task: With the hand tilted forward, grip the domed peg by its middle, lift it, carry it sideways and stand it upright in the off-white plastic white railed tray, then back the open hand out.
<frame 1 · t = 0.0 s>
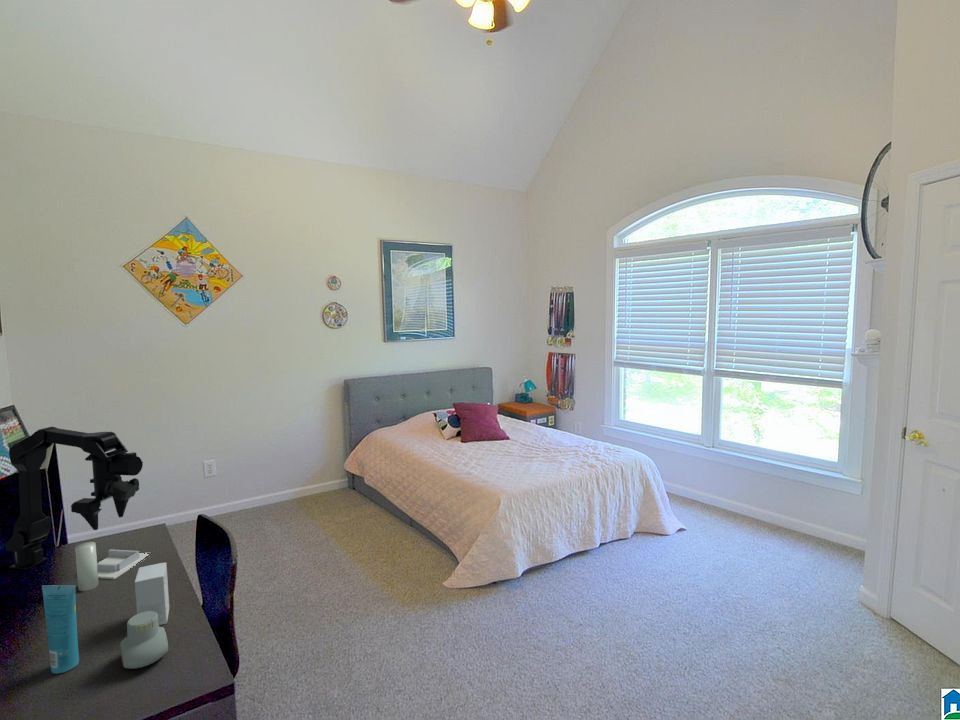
hand: (108, 523, 151), 15 cm above the table, tool pointing down, fingers open, 9 cm apart
air freshener: (145, 659, 113), on the table
white railed tray: (116, 565, 155), on the table
small box: (154, 619, 128), on the table
domed peg: (88, 586, 143), on the table
tube: (65, 667, 111), on the table
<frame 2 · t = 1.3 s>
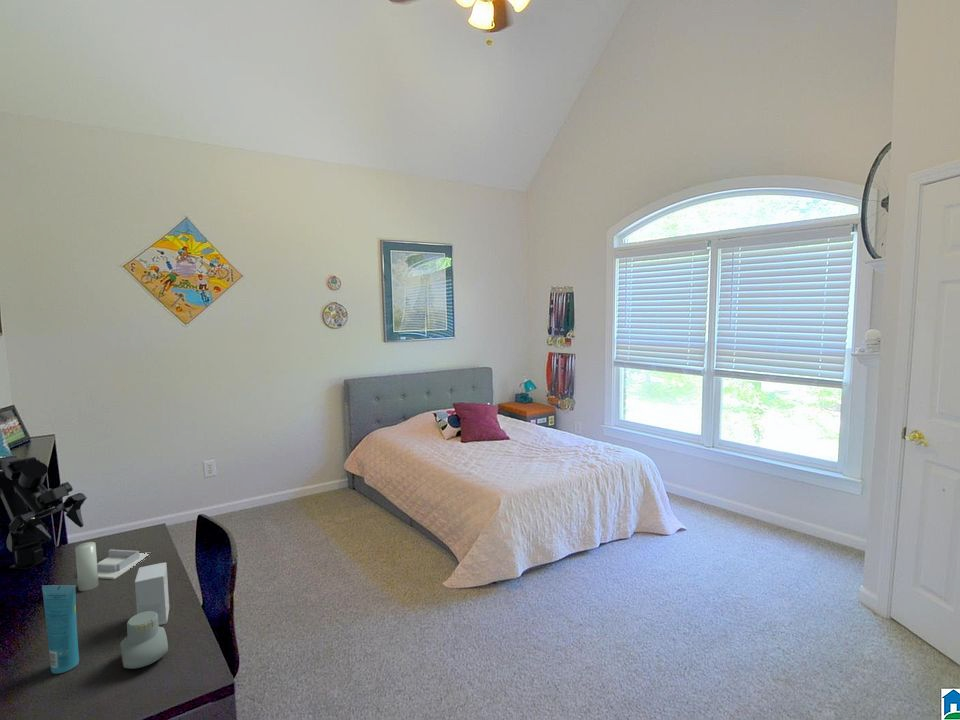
hand: (66, 533, 147), 14 cm above the table, tool tilted 45°, fingers open, 9 cm apart
nothing on the table moved.
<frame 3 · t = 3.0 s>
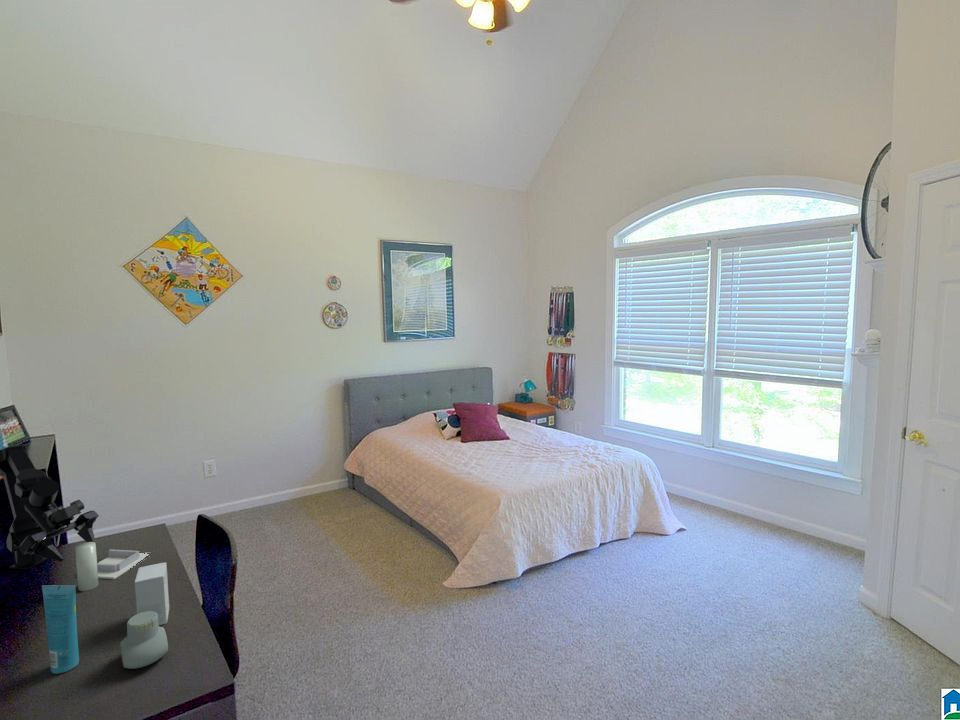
hand: (79, 552, 142), 10 cm above the table, tool tilted 45°, fingers open, 9 cm apart
nothing on the table moved.
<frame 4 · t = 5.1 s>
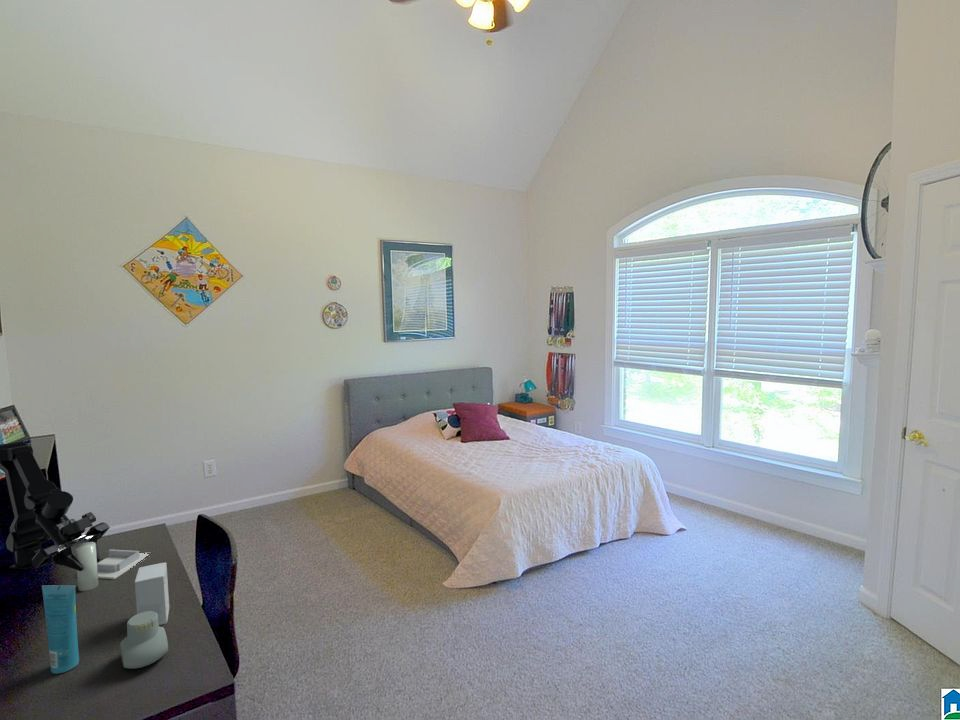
hand: (90, 565, 142), 7 cm above the table, tool tilted 45°, fingers closed on domed peg, 5 cm apart
domed peg: (88, 586, 143), on the table, touching gripper
everything else where it was.
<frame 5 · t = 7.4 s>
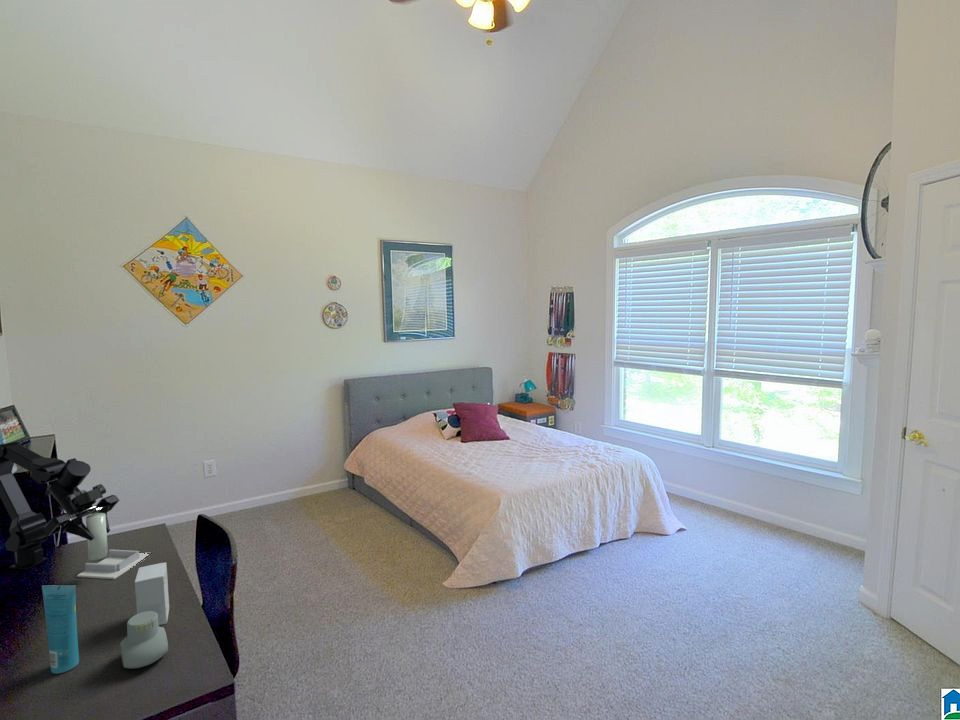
hand: (100, 535, 146), 13 cm above the table, tool tilted 45°, fingers closed on domed peg, 5 cm apart
domed peg: (98, 556, 147), point 7 cm above the table, touching gripper
everything else where it was.
when the fingers open (8 cm above the table, at t = 10.2 s): domed peg stays where it is, resting on white railed tray.
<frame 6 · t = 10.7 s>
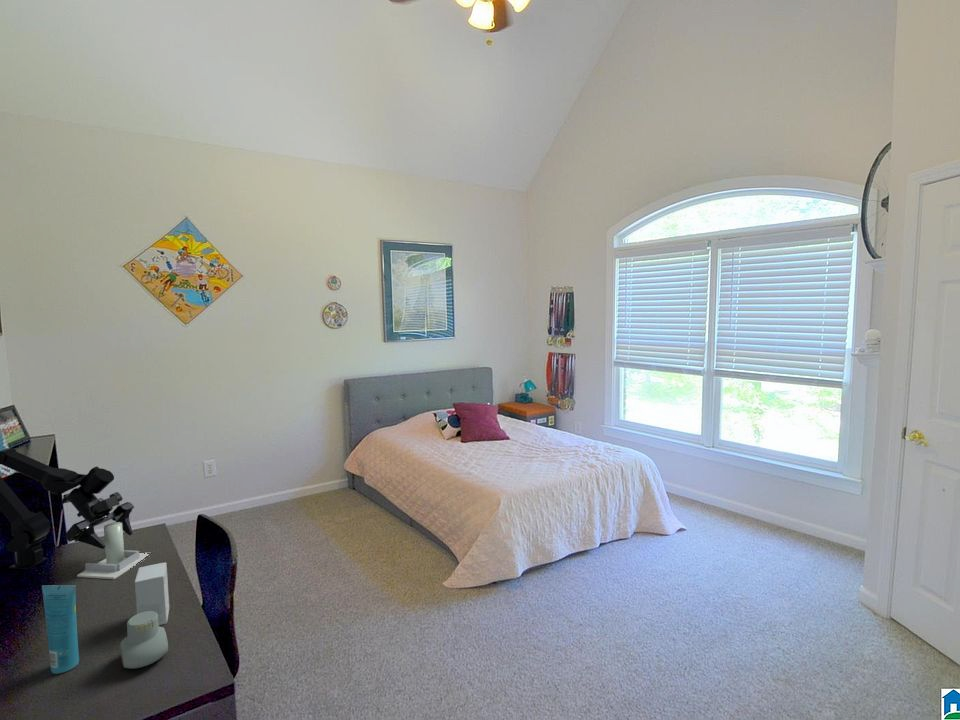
hand: (118, 540, 154), 8 cm above the table, tool tilted 45°, fingers open, 9 cm apart
domed peg: (115, 563, 155), point 1 cm above the table, touching white railed tray
everything else where it was.
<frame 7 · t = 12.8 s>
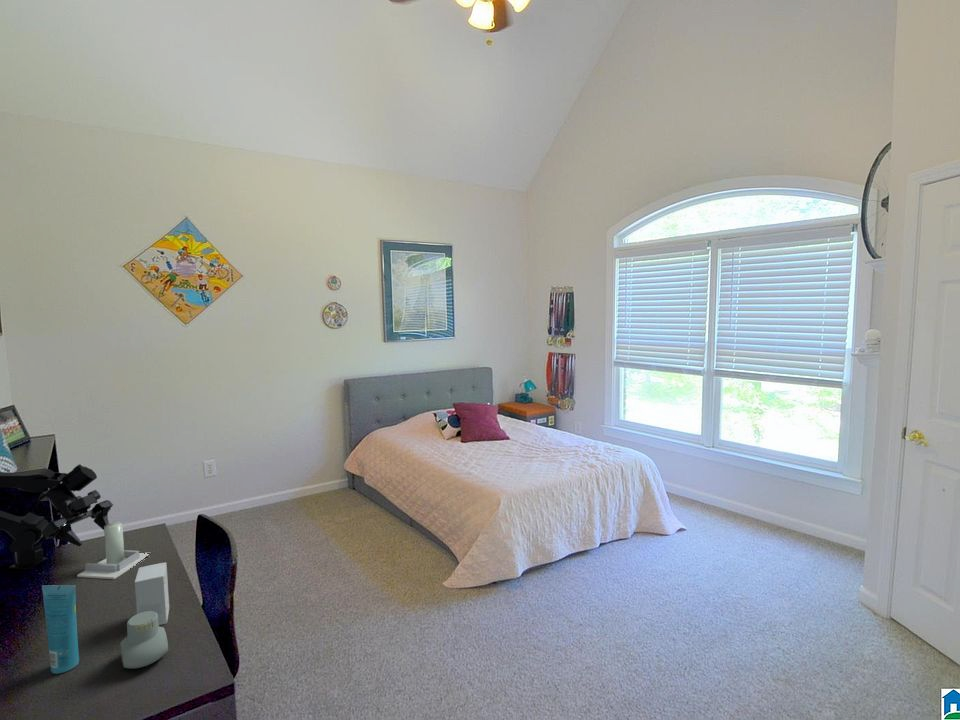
hand: (95, 538, 155), 8 cm above the table, tool tilted 45°, fingers open, 9 cm apart
nothing on the table moved.
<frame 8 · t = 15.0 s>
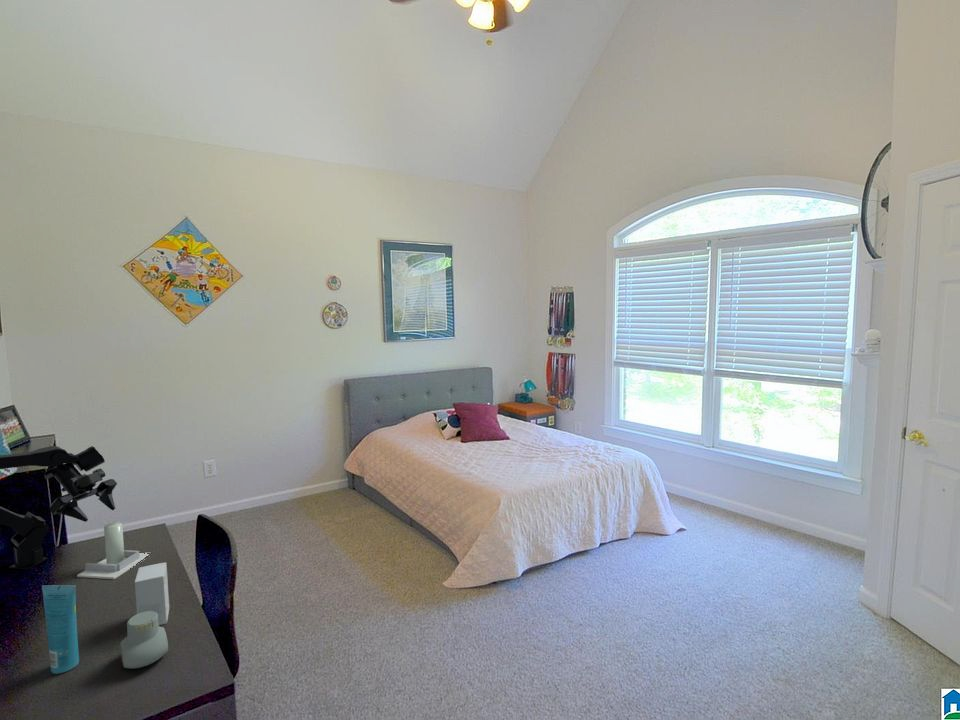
hand: (100, 514, 160), 14 cm above the table, tool tilted 45°, fingers open, 9 cm apart
nothing on the table moved.
at the end: domed peg 0.1 cm off-centre on the white railed tray, point 0.6 cm above the white railed tray's base; domed peg tilted 0°; the gripper is holding nothing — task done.
